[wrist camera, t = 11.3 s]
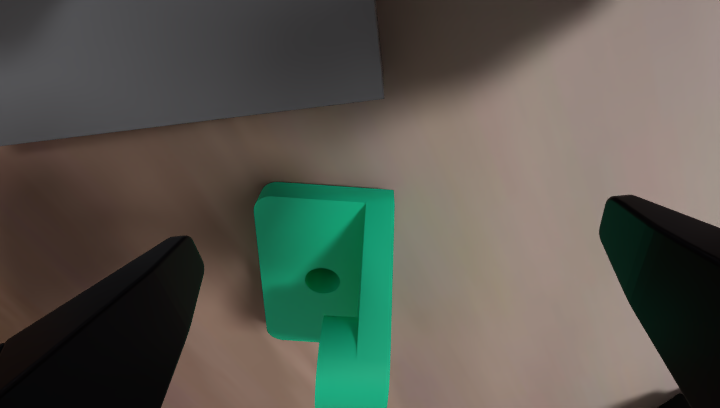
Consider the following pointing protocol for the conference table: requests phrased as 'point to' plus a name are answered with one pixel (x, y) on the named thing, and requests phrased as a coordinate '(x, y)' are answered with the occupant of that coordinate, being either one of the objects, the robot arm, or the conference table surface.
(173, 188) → the conference table surface
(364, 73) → the mount block
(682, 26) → the conference table surface
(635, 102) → the conference table surface
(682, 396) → the game console
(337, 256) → the camera mount
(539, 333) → the conference table surface
